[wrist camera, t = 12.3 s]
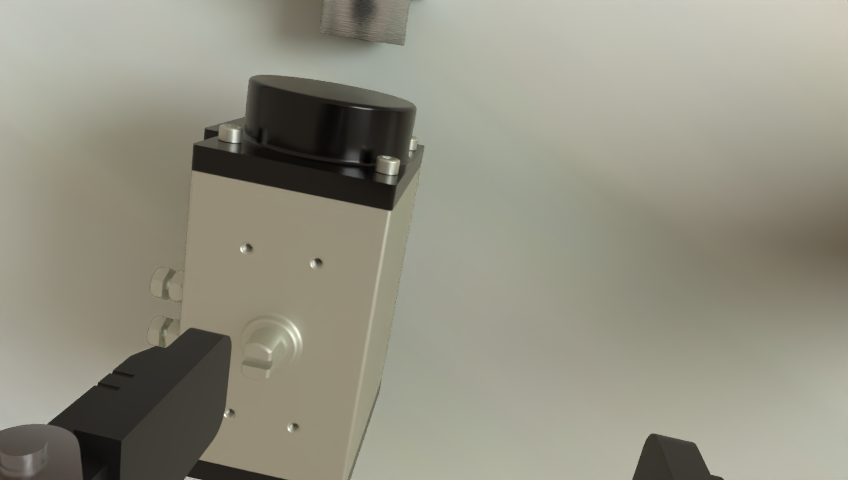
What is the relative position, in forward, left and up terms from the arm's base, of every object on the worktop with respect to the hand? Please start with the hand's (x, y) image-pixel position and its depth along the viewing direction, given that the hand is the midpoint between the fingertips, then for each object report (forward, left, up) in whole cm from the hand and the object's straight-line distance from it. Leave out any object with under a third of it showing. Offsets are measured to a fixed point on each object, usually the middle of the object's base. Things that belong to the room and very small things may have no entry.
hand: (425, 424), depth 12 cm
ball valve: (+7, +5, -27) cm, 28 cm away
